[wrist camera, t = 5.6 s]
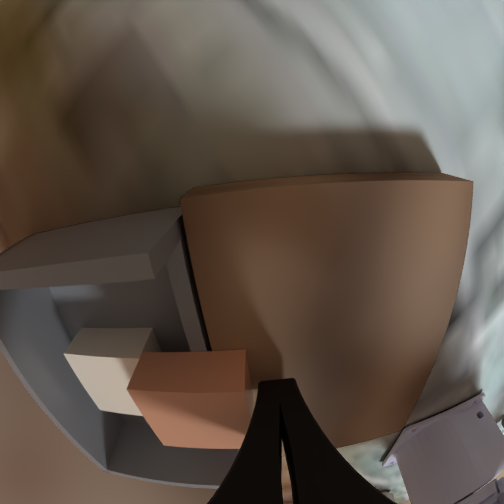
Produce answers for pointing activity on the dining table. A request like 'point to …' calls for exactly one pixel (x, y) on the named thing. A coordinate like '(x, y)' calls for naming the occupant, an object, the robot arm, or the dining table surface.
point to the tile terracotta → (195, 397)
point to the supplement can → (389, 495)
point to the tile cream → (109, 363)
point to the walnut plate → (333, 285)
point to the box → (106, 316)
